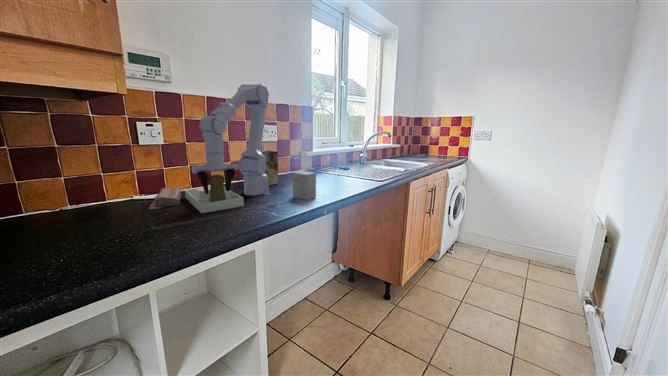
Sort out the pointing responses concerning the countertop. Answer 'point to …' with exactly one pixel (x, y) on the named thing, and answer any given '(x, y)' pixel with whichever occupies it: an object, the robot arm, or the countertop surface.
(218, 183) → the brown rounded lobed piece
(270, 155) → the coffee box
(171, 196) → the packaged product
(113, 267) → the countertop surface
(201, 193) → the white box
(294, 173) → the small box
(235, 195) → the box
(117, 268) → the countertop surface
